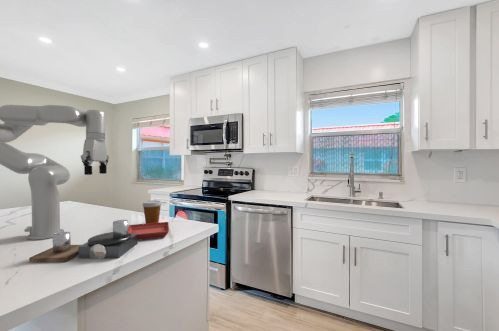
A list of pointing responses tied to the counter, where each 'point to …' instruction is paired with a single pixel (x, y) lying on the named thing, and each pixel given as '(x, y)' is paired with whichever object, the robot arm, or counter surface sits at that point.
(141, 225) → the plant saucer
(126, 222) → the cylinder
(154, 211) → the disposable coffee cup
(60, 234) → the cylinder
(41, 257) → the walnut board
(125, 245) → the scale
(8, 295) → the counter surface
